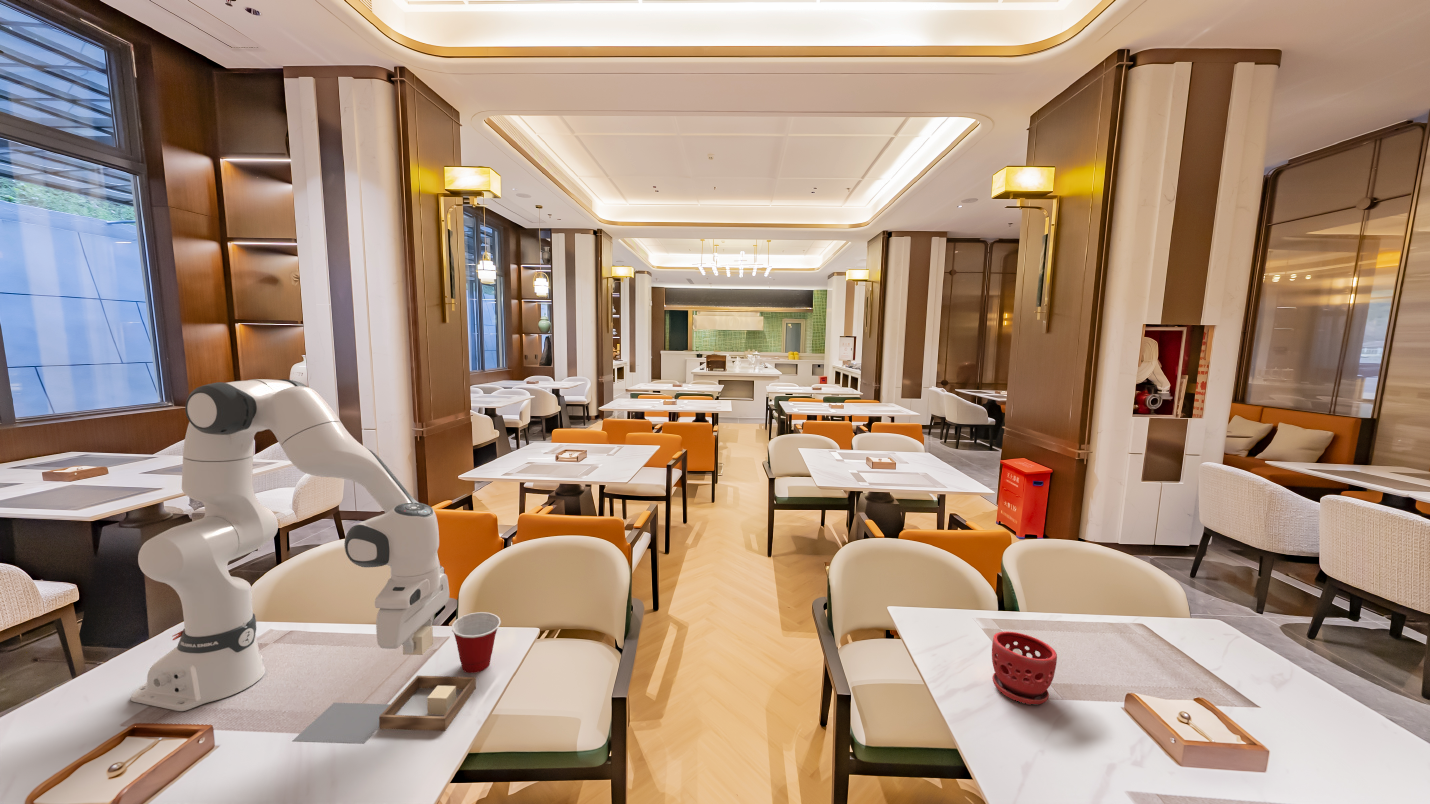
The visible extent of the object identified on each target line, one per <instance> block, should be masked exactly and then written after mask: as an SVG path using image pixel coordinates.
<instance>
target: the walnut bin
mask: <svg viewBox="0 0 1430 804" xmlns="http://www.w3.org/2000/svg"><path fill="white" fill-rule="evenodd" d="M476 679H477V678H476V677H475V676H474V677H472V676H449V675H447V676H445V675H444V676H441V675H416V677H415V678H413V679H412V681H411V682H409V684H408V685H407V686H406V687H405V688H404V689H403V691H401V692H400V694H398V696H396V698H395V699H394V700H393V701H392V702H390V703H389V704H390V705H389V707H388V708H387V709H386V710H385V711H384V712H383V713H382V714H381V715H380V716H379V728H378V729H379V730H397V731H398V730H399V731H405V730H407V731H431V732H432V731H434V732H435V731H436V732H446V730H447V729H448V728H449V726H450V725H451V724H452V722H453V721H454V719H455V718H456V717H457V715H458V714H459V713H460V711H461V710H462V708H464V705H465V704H466V703H467V702H468V701H469V699H470V697H471V695H472V694H473V693H474V691H475V690H476V687H477V686H476V685H477V684H476V682H477V680H476ZM437 686H456V691H457V690H458V691H459V690H460V691H461V692H460V694H459V695H458V696H457V697H456V701H455V702H454V703H453V704H452V706H451V707H450V708H449V710H448V711H447V712H446V714H445V715H442V716H441V715H413V714H412V715H410V714H408V715H405V714H397V713H398V712H399V711H400V710H401V709H402V708H403V707H404V705H405V704H406V703H407V702H408V701H409V700H410V699H411V697H413V696H414V694H416V692H417V691H418V690H419V689H424V690H425V689H426V690H427V689H428V690H429V689H432V690H434V689H435V688H436V687H437Z"/></svg>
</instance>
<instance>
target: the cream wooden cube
mask: <svg viewBox="0 0 1430 804" xmlns="http://www.w3.org/2000/svg"><path fill="white" fill-rule="evenodd" d="M413 635H414V636H413V638H412V640H413V642H416V650H415V651H414V652H413V653H411V654H405V653H404V646H403V645H402V655H405V656H408V655H411V656H415V655H416V656H423V655H424V654H425V653H426V652H428V650H429V649H430V648H431V647H432V646H433V644H434V637H433V636H434V634H433V625H432V626H421V627H420V628H419V629H418V630H417V631H416V632H415V633H414V634H413Z"/></svg>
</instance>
